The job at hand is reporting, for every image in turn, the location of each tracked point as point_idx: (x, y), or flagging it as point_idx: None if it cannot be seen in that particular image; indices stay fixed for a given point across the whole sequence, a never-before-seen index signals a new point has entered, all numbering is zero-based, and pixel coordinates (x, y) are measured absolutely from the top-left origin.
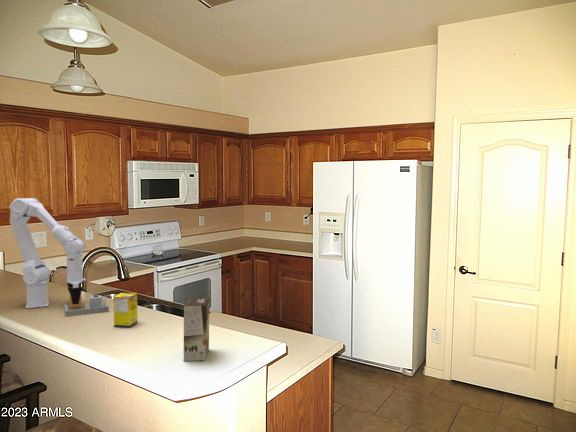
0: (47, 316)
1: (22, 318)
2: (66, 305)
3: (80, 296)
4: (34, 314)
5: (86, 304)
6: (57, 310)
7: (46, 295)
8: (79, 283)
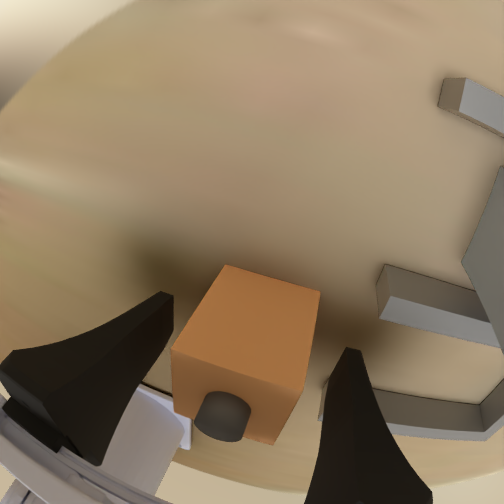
0: None
1: None
2: None
3: (304, 370)
4: (313, 464)
5: (481, 329)
6: (318, 413)
7: (134, 439)
8: (64, 411)
